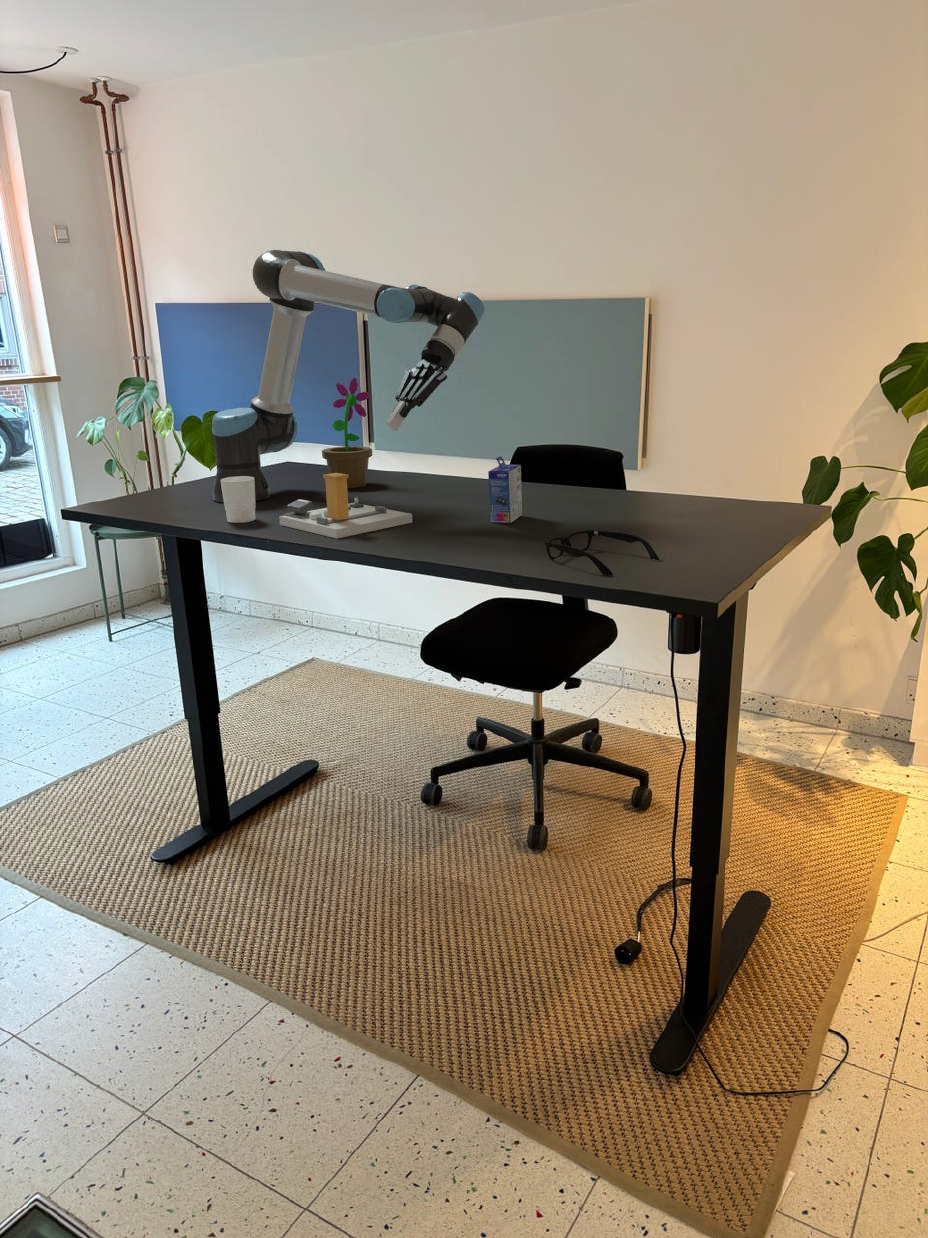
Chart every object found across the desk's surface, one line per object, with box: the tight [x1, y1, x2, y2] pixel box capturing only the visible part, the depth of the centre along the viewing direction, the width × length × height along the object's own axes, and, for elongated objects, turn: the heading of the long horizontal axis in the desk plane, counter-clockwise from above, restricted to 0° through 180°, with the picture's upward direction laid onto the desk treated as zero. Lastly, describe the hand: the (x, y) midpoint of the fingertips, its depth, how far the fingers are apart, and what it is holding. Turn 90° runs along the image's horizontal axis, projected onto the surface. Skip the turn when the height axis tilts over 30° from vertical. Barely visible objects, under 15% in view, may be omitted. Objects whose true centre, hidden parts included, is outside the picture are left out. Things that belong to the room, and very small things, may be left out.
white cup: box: [220, 476, 256, 524], centre depth 220 cm, size 8×8×10 cm
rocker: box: [286, 498, 314, 513], centre depth 214 cm, size 5×4×2 cm
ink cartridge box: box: [487, 456, 523, 524], centre depth 214 cm, size 10×6×14 cm, turn 161°
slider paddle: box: [322, 473, 349, 520], centre depth 206 cm, size 5×4×10 cm
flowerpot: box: [321, 377, 373, 489], centre depth 262 cm, size 14×14×30 cm
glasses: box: [544, 529, 660, 576], centre depth 177 cm, size 17×18×5 cm
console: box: [279, 497, 413, 539], centre depth 214 cm, size 22×22×4 cm
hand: (391, 426), depth 213 cm, fingers closed
